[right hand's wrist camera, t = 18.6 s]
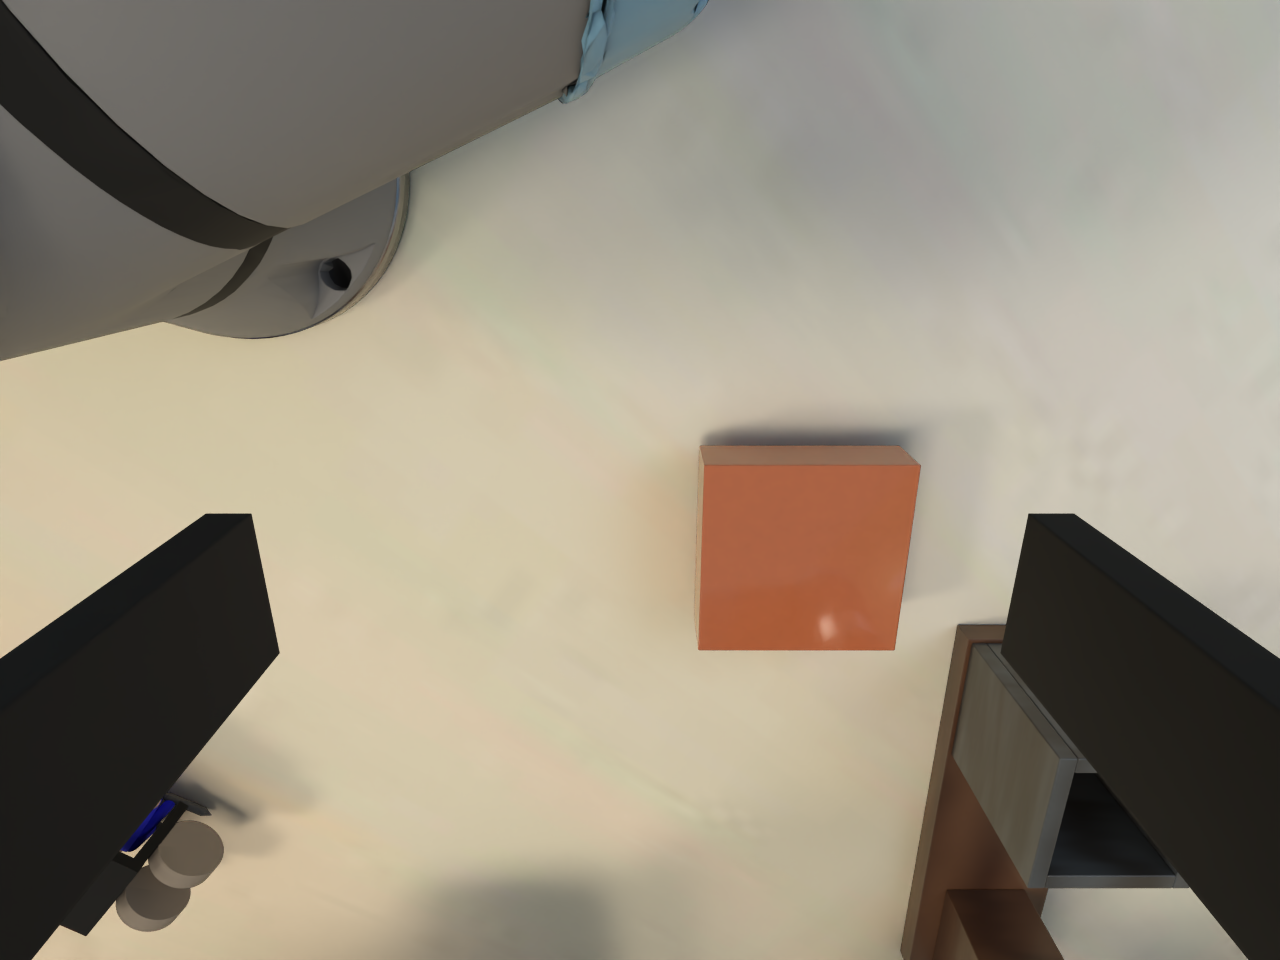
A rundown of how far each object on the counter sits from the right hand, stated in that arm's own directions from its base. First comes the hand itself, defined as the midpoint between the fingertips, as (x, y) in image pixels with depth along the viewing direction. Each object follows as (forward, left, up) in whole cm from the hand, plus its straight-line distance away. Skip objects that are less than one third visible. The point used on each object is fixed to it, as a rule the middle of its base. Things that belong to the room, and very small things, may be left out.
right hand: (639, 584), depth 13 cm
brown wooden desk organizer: (+22, -29, -25) cm, 44 cm away
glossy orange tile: (+8, -10, -25) cm, 28 cm away
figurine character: (-32, -27, -25) cm, 49 cm away
